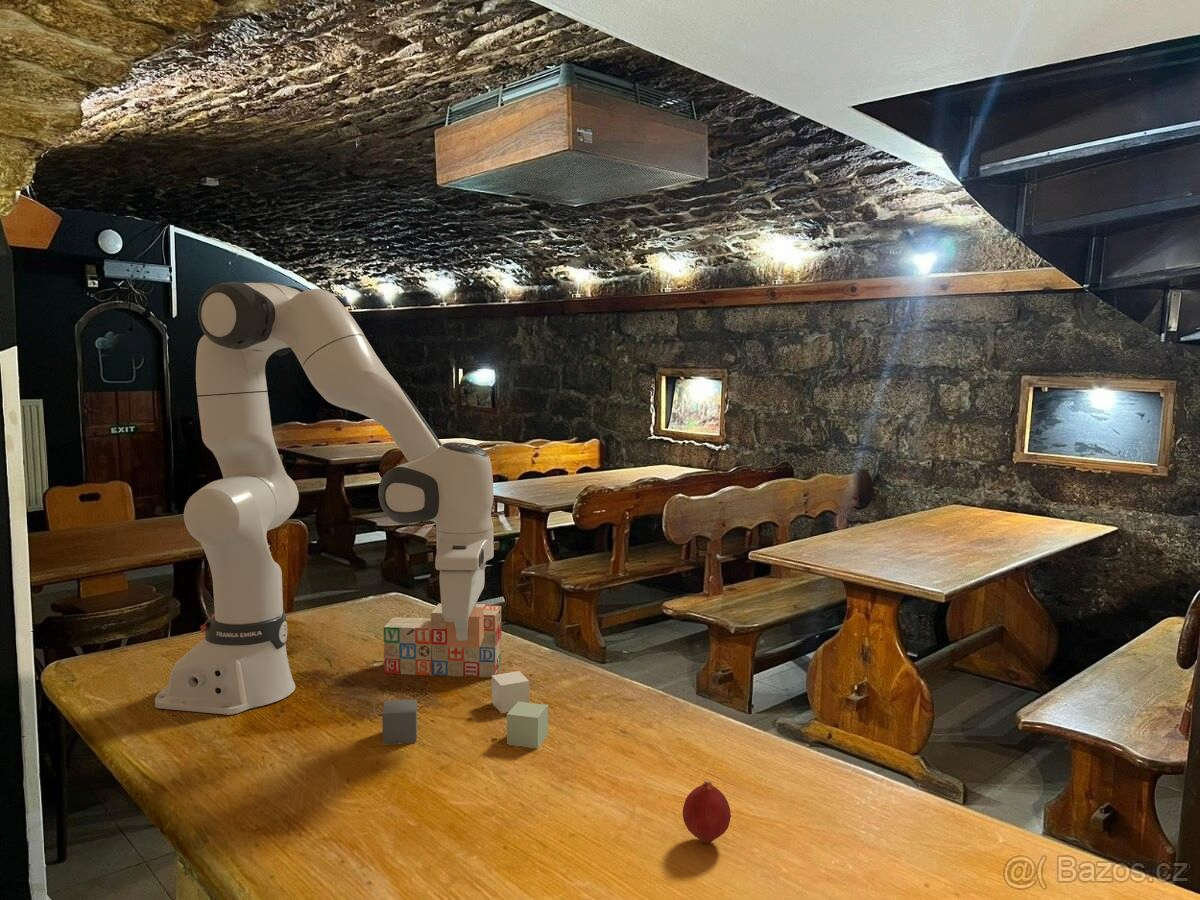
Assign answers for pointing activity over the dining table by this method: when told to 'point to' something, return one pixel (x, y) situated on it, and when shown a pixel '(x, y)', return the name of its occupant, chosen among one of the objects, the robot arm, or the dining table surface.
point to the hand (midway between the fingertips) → (465, 632)
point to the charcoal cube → (399, 721)
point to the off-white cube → (509, 690)
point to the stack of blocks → (440, 647)
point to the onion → (706, 813)
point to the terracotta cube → (474, 631)
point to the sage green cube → (527, 724)
